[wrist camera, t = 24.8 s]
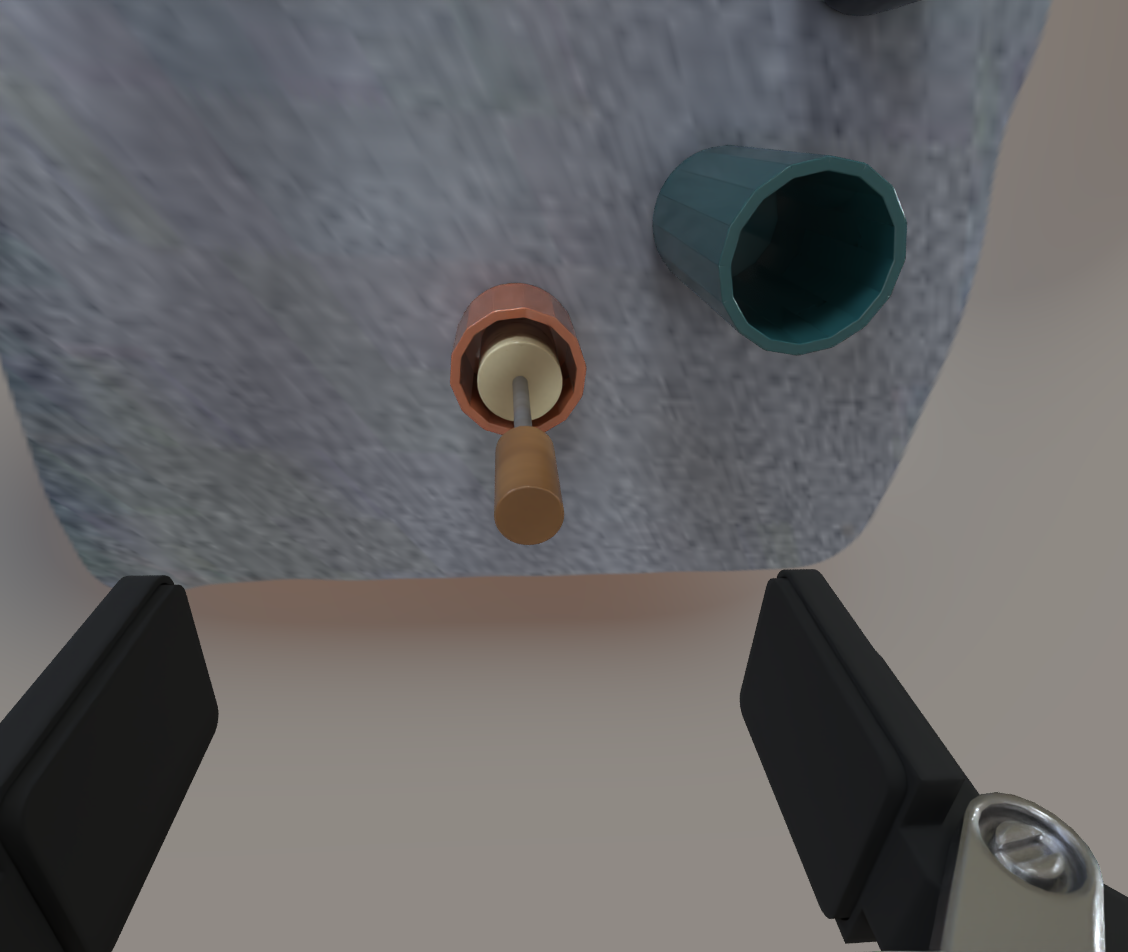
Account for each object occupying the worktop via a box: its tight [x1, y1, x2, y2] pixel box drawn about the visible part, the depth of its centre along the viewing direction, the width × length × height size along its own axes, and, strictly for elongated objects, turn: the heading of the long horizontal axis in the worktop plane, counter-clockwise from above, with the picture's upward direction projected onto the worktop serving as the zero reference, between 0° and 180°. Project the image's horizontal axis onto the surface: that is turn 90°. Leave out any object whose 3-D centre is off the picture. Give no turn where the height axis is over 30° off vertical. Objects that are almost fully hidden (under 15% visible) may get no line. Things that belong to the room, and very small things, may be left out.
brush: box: [477, 317, 564, 545], centre depth 31 cm, size 4×4×19 cm
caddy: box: [450, 283, 587, 435], centre depth 37 cm, size 7×7×6 cm
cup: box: [653, 145, 907, 355], centre depth 31 cm, size 7×7×13 cm
